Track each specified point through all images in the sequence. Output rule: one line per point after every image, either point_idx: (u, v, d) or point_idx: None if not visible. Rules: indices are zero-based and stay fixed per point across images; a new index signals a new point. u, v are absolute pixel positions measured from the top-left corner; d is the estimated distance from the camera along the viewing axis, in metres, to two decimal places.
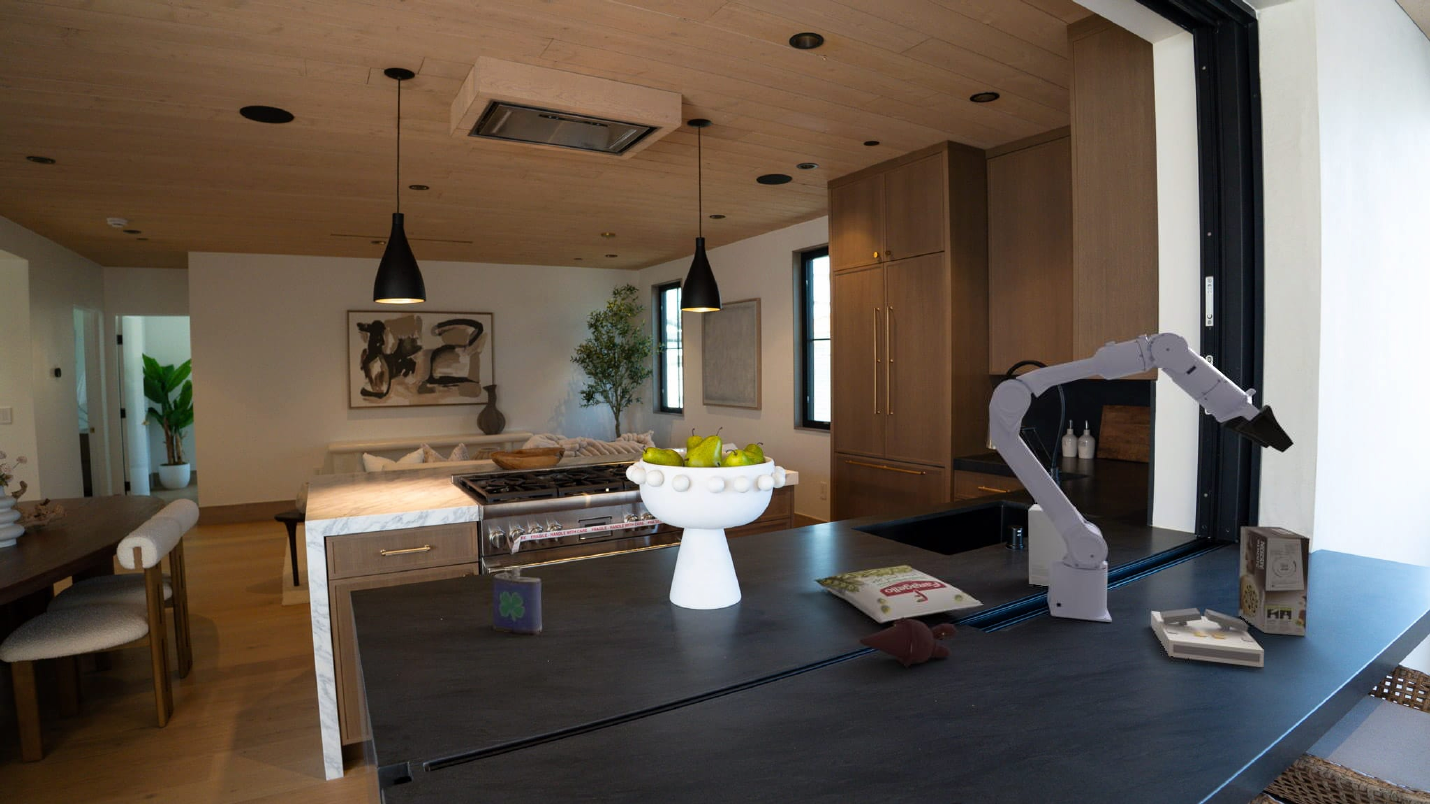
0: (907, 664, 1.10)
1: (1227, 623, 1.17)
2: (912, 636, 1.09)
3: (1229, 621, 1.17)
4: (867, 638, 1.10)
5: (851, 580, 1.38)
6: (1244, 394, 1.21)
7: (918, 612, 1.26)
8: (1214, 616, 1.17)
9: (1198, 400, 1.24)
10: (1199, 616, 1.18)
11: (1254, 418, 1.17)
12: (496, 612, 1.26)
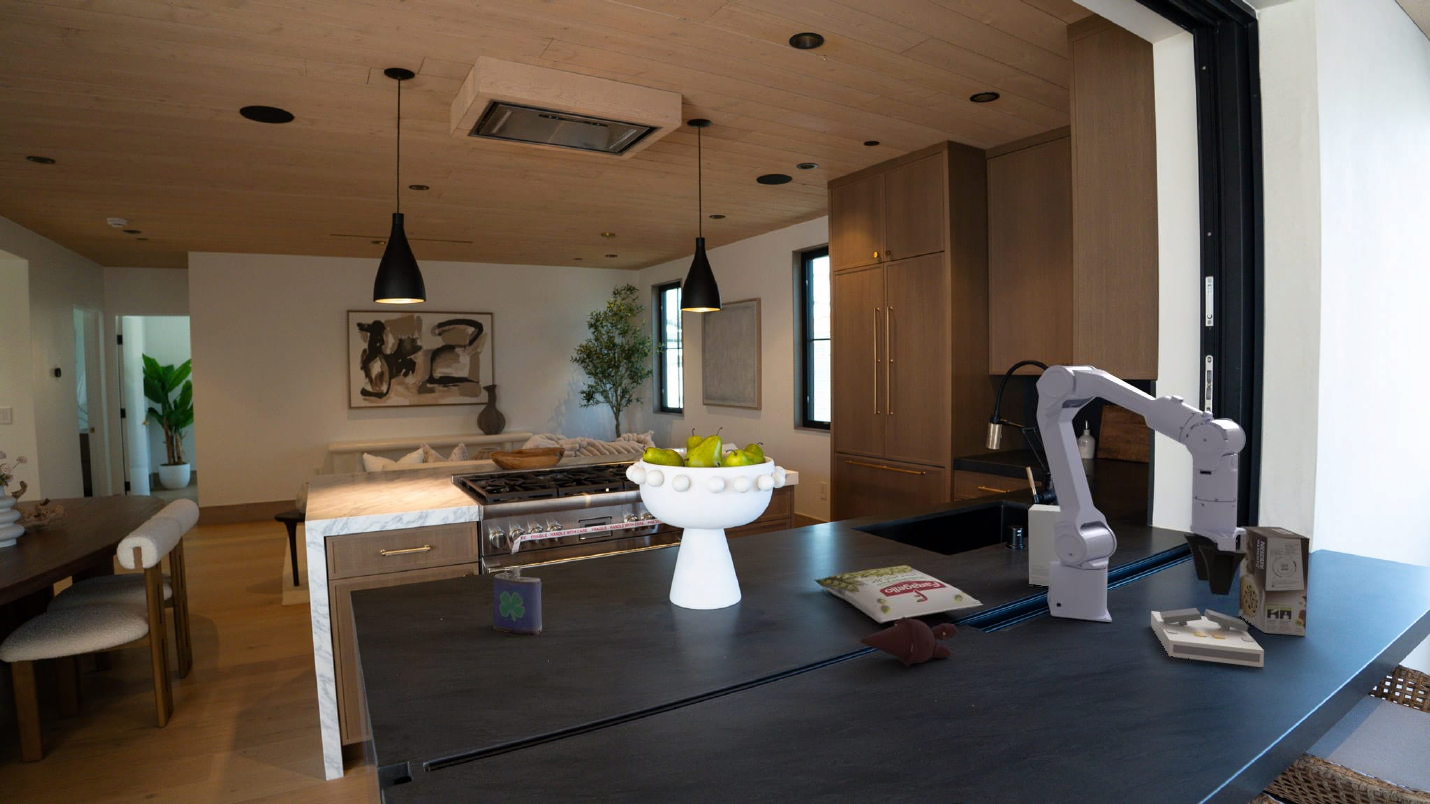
0: (908, 664, 1.10)
1: (1227, 623, 1.17)
2: (913, 636, 1.09)
3: (1229, 621, 1.17)
4: (868, 638, 1.10)
5: (851, 580, 1.38)
6: (1234, 528, 1.12)
7: (918, 612, 1.26)
8: (1214, 616, 1.17)
9: (1195, 500, 1.14)
10: (1199, 616, 1.18)
11: (1223, 551, 1.09)
12: (496, 612, 1.26)
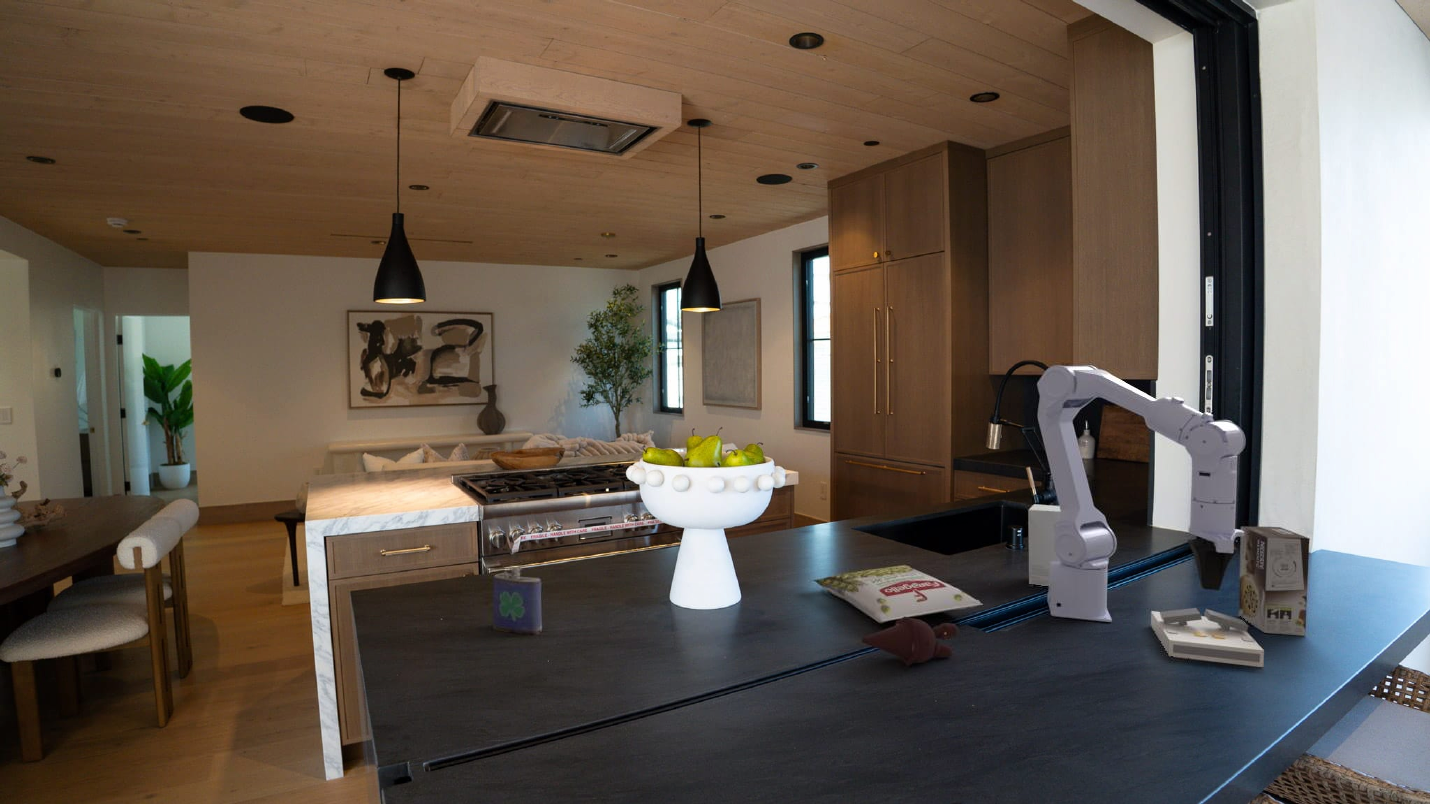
0: (909, 663, 1.10)
1: (1227, 623, 1.17)
2: (914, 635, 1.09)
3: (1229, 621, 1.17)
4: (869, 637, 1.10)
5: (851, 580, 1.38)
6: (1233, 530, 1.12)
7: (918, 612, 1.26)
8: (1214, 616, 1.17)
9: (1193, 502, 1.14)
10: (1199, 616, 1.18)
11: (1215, 548, 1.12)
12: (496, 612, 1.26)
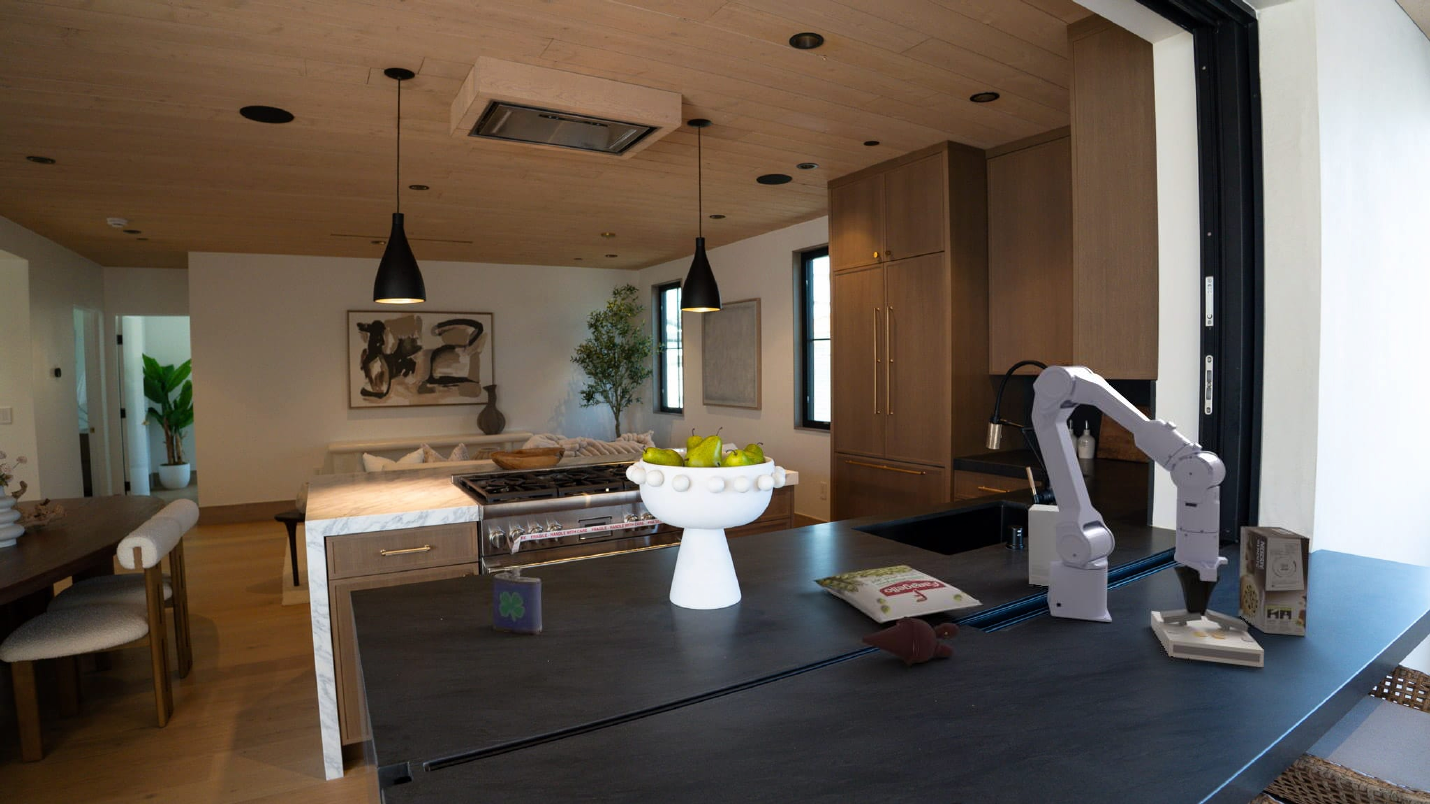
0: (909, 663, 1.10)
1: (1227, 623, 1.17)
2: (914, 635, 1.09)
3: (1229, 621, 1.17)
4: (869, 637, 1.11)
5: (851, 580, 1.38)
6: (1216, 558, 1.16)
7: (918, 612, 1.26)
8: (1214, 616, 1.17)
9: (1178, 531, 1.19)
10: (1199, 616, 1.18)
11: (1199, 575, 1.17)
12: (496, 612, 1.26)
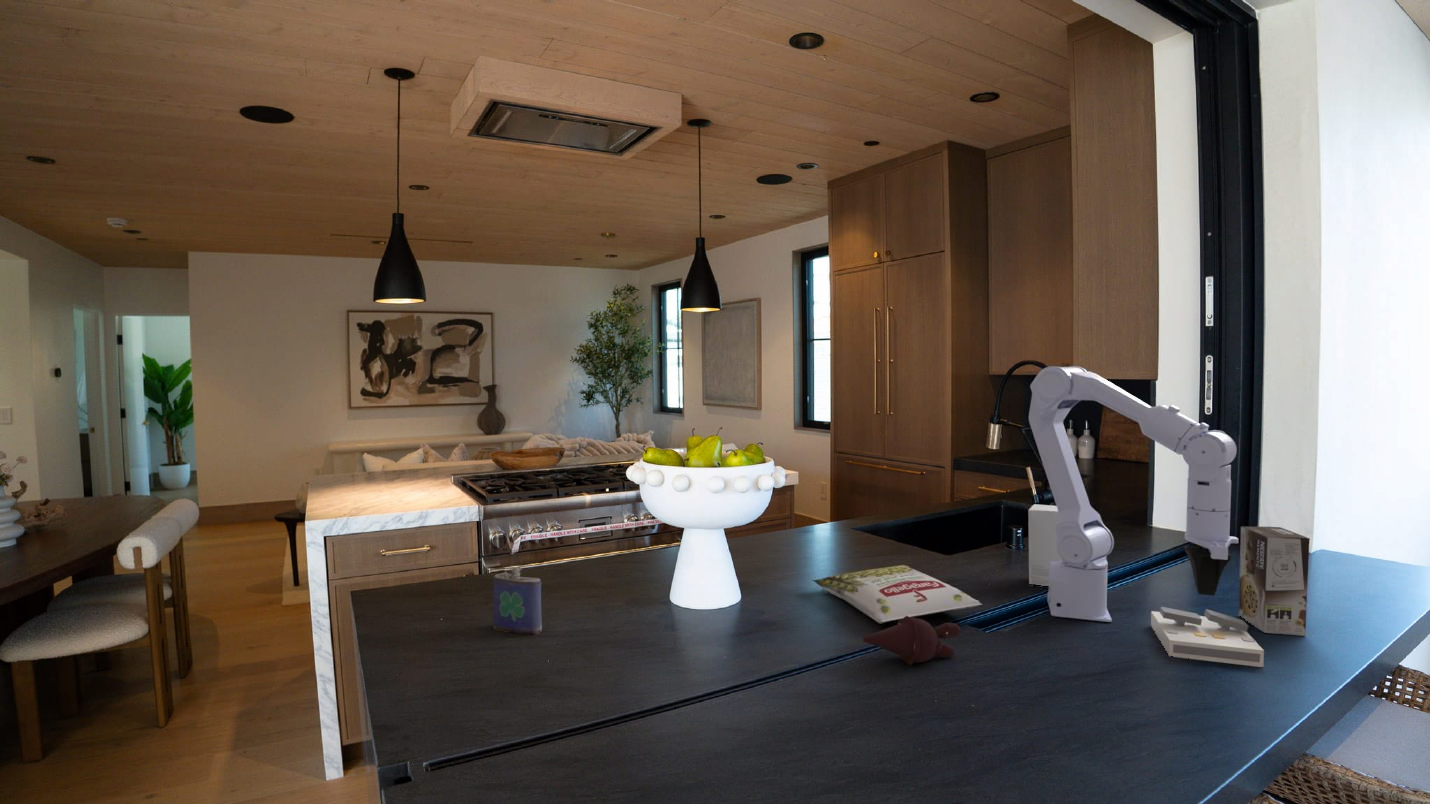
0: (910, 663, 1.10)
1: (1227, 623, 1.17)
2: (915, 635, 1.10)
3: (1229, 621, 1.17)
4: (870, 636, 1.11)
5: (850, 580, 1.38)
6: (1227, 537, 1.16)
7: (918, 612, 1.26)
8: (1214, 616, 1.17)
9: (1189, 510, 1.18)
10: (1199, 621, 1.18)
11: (1210, 554, 1.16)
12: (496, 612, 1.26)
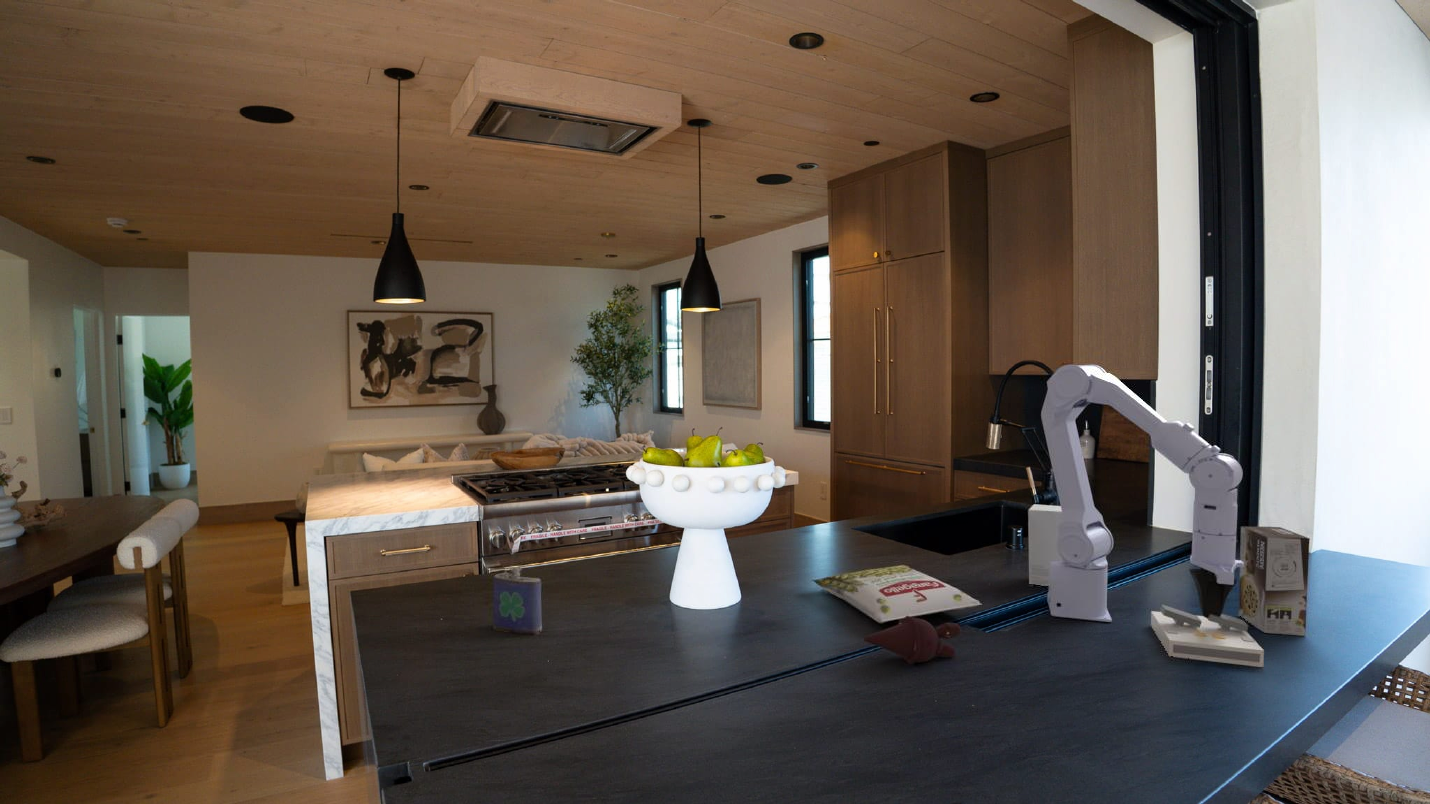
0: (911, 662, 1.10)
1: (1227, 623, 1.17)
2: (916, 635, 1.10)
3: (1229, 621, 1.17)
4: (871, 636, 1.11)
5: (850, 580, 1.38)
6: (1233, 561, 1.16)
7: (918, 612, 1.26)
8: (1214, 616, 1.17)
9: (1195, 533, 1.18)
10: (1199, 624, 1.18)
11: (1216, 578, 1.16)
12: (496, 612, 1.26)
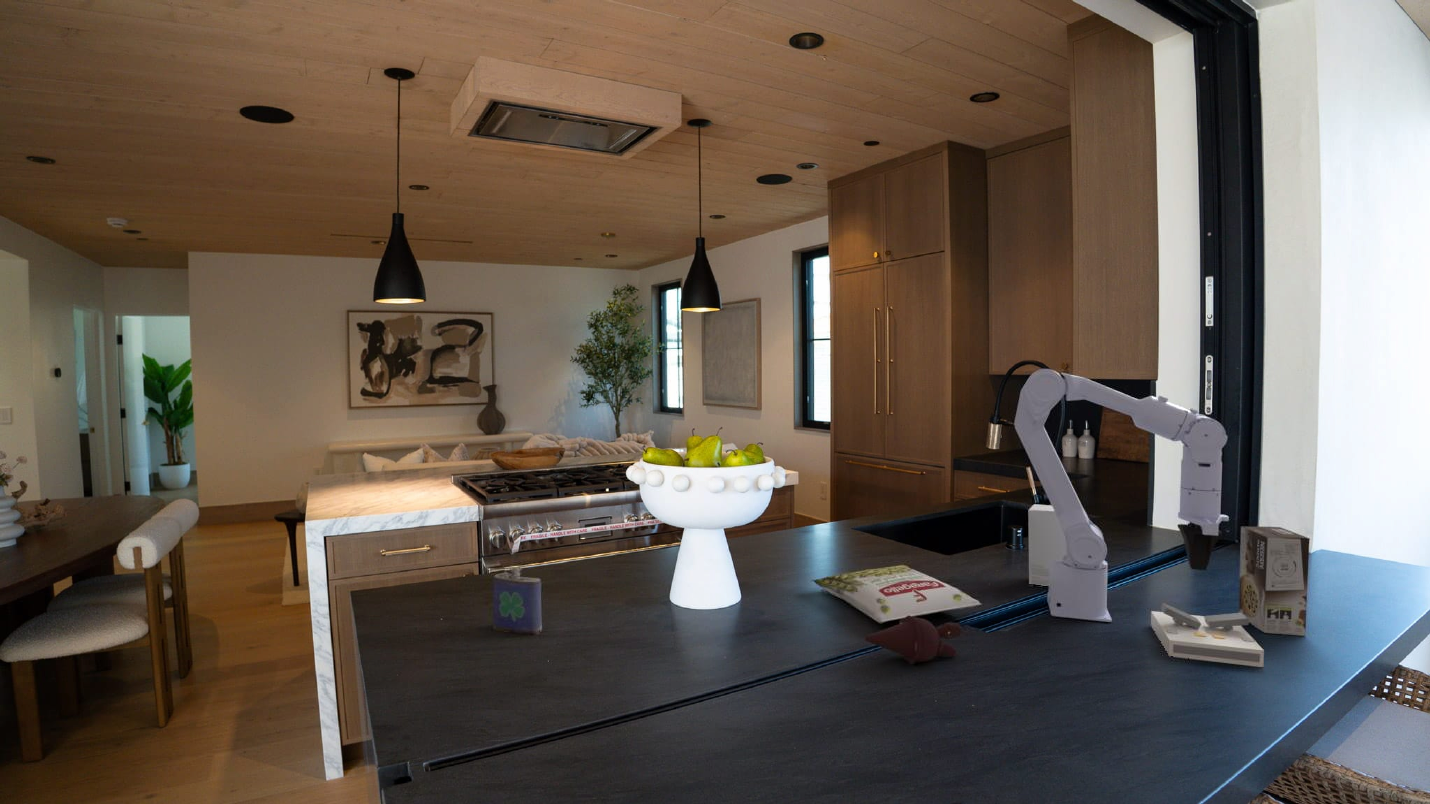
0: (912, 662, 1.11)
1: (1227, 623, 1.17)
2: (917, 634, 1.10)
3: (1228, 621, 1.17)
4: (872, 635, 1.11)
5: (850, 580, 1.38)
6: (1218, 515, 1.23)
7: (917, 612, 1.26)
8: (1212, 622, 1.17)
9: (1183, 489, 1.25)
10: (1198, 625, 1.18)
11: (1202, 531, 1.23)
12: (496, 612, 1.26)
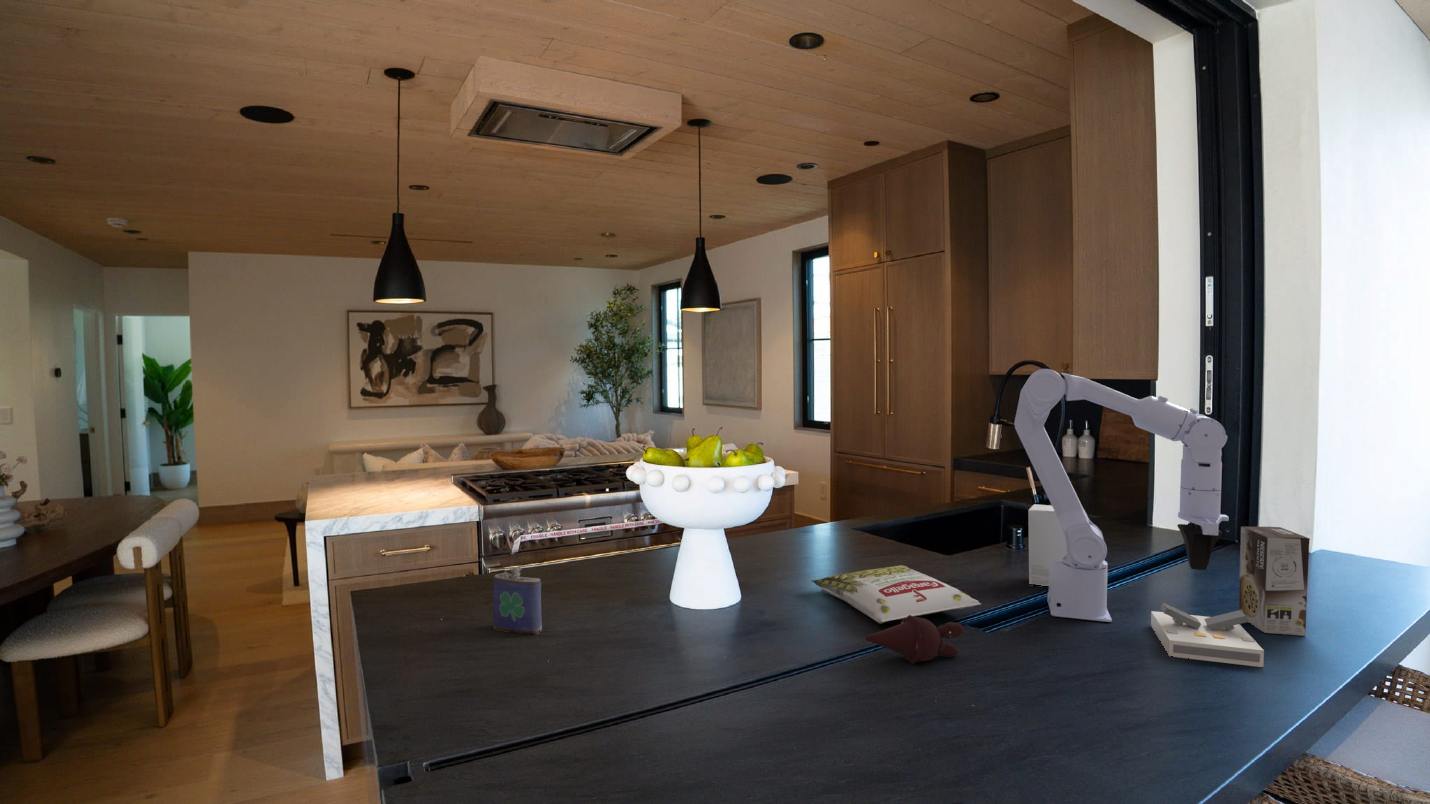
0: (913, 662, 1.11)
1: (1227, 623, 1.17)
2: (918, 634, 1.10)
3: (1227, 621, 1.17)
4: (873, 635, 1.11)
5: (849, 581, 1.38)
6: (1218, 515, 1.23)
7: (917, 612, 1.26)
8: (1213, 624, 1.17)
9: (1182, 489, 1.25)
10: (1198, 625, 1.18)
11: (1202, 531, 1.23)
12: (496, 612, 1.26)
